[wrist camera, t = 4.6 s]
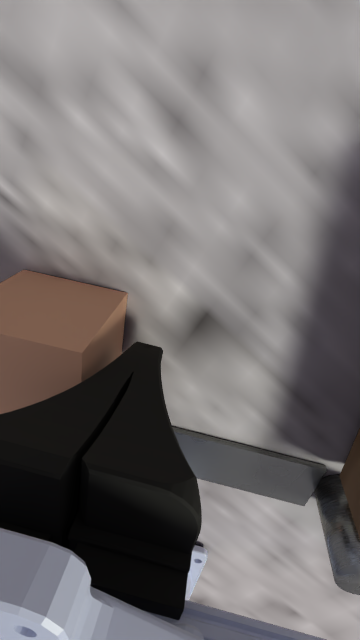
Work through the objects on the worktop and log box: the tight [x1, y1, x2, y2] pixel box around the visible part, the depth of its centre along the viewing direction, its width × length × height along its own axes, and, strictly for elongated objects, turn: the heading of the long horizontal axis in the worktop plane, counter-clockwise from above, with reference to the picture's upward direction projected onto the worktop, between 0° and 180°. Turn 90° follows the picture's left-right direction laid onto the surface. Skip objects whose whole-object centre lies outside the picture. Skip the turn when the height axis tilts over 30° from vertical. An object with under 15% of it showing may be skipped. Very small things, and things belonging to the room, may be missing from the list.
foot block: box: [0, 270, 128, 414], centre depth 12 cm, size 4×4×4 cm
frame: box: [172, 427, 360, 595], centre depth 15 cm, size 4×19×4 cm, turn 80°
